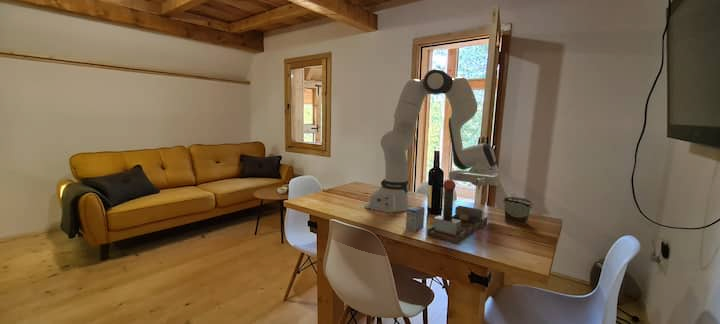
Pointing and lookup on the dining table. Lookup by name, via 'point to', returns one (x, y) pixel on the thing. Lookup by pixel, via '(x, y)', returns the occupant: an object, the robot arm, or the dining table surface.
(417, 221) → the medicine box
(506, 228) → the dining table surface
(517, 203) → the food container
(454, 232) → the red knob lever
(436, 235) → the press base
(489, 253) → the dining table surface
